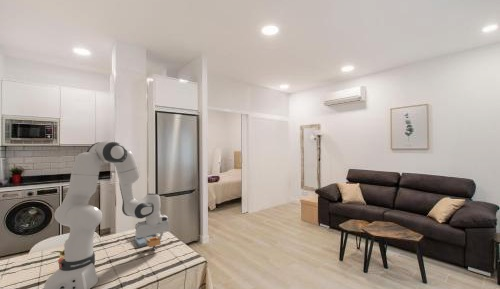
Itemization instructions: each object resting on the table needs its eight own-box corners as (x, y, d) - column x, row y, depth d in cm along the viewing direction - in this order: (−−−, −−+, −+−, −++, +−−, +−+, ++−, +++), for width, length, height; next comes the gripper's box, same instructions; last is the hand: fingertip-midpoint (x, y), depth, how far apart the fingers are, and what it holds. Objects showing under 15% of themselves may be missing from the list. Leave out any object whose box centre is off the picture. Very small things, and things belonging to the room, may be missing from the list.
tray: (139, 247, 148) (139, 243, 148) (134, 240, 158) (134, 237, 158) (160, 241, 156) (160, 238, 156) (154, 235, 166) (154, 232, 166)
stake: (152, 251, 142) (152, 245, 142) (151, 249, 145) (150, 244, 145) (157, 249, 144) (157, 244, 144) (155, 248, 147) (155, 242, 147)
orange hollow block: (149, 247, 139) (149, 242, 139) (145, 242, 146) (145, 238, 146) (160, 244, 144) (160, 239, 144) (156, 240, 150) (156, 235, 150)
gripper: (136, 224, 135) (136, 247, 135) (171, 217, 148) (171, 238, 148) (133, 221, 140) (134, 244, 140) (167, 214, 153) (167, 235, 153)
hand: (153, 241), depth 144 cm, fingers closed on orange hollow block, 6 cm apart
